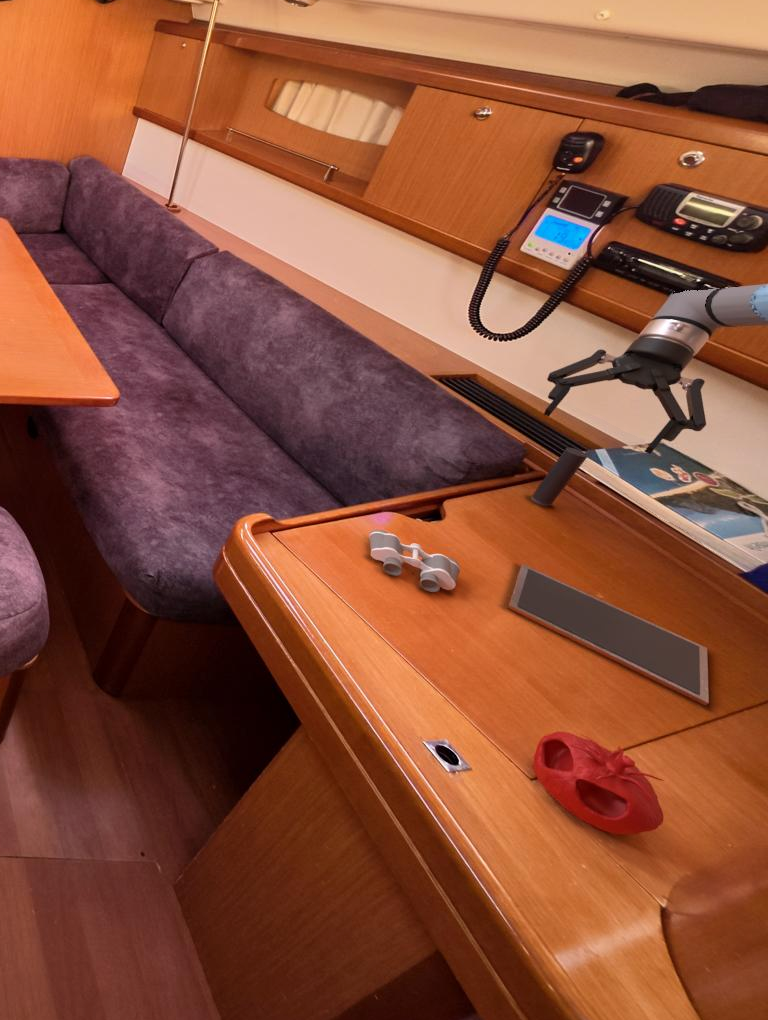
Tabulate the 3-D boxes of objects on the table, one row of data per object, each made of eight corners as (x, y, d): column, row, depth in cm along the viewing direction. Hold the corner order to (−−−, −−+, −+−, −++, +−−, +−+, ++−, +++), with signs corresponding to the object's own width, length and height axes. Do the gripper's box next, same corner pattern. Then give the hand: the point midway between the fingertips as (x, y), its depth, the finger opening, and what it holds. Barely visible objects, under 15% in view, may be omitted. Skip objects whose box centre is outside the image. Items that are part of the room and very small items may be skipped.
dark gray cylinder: (551, 502, 124) (588, 453, 118) (549, 508, 122) (587, 458, 116) (531, 494, 126) (567, 445, 120) (529, 500, 124) (565, 451, 118)
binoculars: (454, 575, 107) (464, 560, 105) (455, 603, 102) (465, 589, 100) (366, 538, 114) (374, 524, 113) (362, 563, 109) (371, 548, 107)
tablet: (704, 650, 95) (707, 647, 95) (705, 706, 87) (709, 702, 87) (520, 566, 109) (522, 563, 109) (507, 607, 101) (509, 604, 101)
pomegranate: (575, 755, 81) (619, 713, 77) (668, 848, 72) (723, 806, 68) (498, 752, 81) (538, 710, 77) (581, 844, 72) (631, 802, 68)
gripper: (576, 313, 129) (511, 391, 129) (779, 368, 110) (704, 460, 110) (569, 330, 134) (507, 406, 134) (763, 386, 114) (690, 474, 114)
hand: (595, 430), depth 122 cm, fingers open, 13 cm apart
